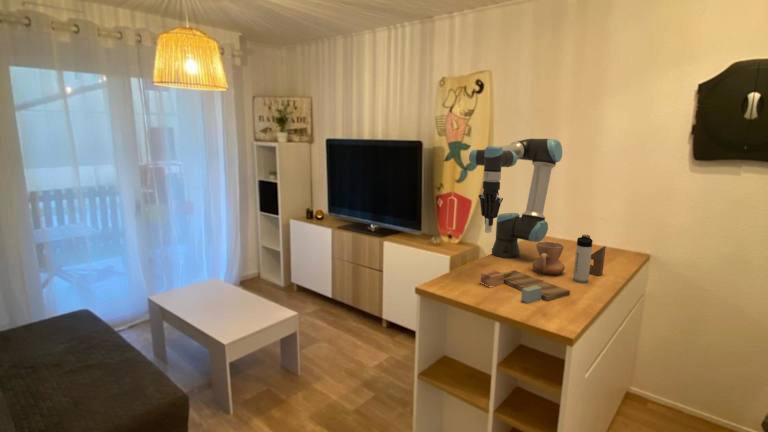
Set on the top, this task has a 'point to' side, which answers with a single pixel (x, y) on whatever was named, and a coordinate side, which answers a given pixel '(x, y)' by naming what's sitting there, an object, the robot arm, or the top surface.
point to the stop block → (531, 294)
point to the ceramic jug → (549, 258)
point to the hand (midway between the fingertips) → (488, 232)
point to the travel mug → (582, 259)
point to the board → (524, 281)
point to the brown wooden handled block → (494, 277)
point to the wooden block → (597, 260)
